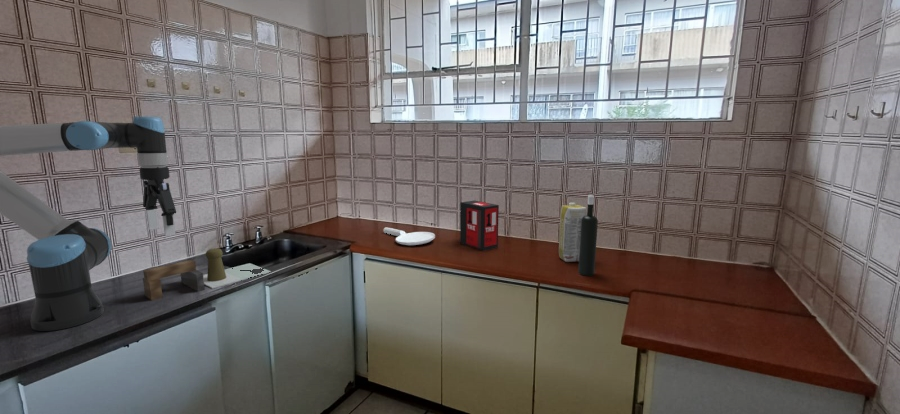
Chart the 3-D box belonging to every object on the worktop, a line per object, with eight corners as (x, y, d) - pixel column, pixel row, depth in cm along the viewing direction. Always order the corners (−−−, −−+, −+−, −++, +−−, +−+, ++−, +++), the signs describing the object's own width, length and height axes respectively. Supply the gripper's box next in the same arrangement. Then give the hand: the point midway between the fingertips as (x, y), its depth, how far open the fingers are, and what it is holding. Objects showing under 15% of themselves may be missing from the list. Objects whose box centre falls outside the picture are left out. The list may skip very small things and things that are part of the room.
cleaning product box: (460, 243, 196) (460, 202, 193) (474, 240, 202) (474, 200, 198) (483, 250, 184) (484, 207, 180) (497, 247, 189) (498, 205, 186)
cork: (217, 282, 144) (214, 252, 142) (203, 280, 145) (199, 251, 143) (230, 276, 150) (227, 247, 148) (216, 275, 151) (212, 246, 149)
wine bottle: (579, 270, 158) (583, 193, 153) (594, 271, 156) (599, 194, 150) (577, 274, 153) (582, 195, 147) (593, 276, 151) (599, 196, 145)
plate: (212, 288, 139) (212, 287, 139) (192, 278, 148) (192, 277, 148) (270, 272, 155) (270, 271, 155) (249, 264, 165) (249, 263, 165)
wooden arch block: (156, 303, 127) (152, 275, 125) (140, 292, 135) (137, 266, 134) (204, 290, 138) (201, 264, 136) (187, 281, 146) (184, 257, 145)
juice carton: (577, 256, 176) (580, 201, 171) (585, 261, 168) (589, 204, 164) (556, 257, 174) (559, 202, 170) (564, 263, 166) (567, 205, 162)
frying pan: (371, 239, 211) (370, 231, 210) (401, 231, 223) (400, 223, 222) (412, 250, 185) (411, 241, 184) (443, 240, 198) (442, 231, 197)
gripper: (183, 168, 124) (191, 235, 128) (153, 164, 139) (160, 224, 143) (155, 169, 118) (163, 240, 122) (126, 165, 133) (134, 228, 137)
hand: (161, 232), depth 132 cm, fingers open, 13 cm apart
